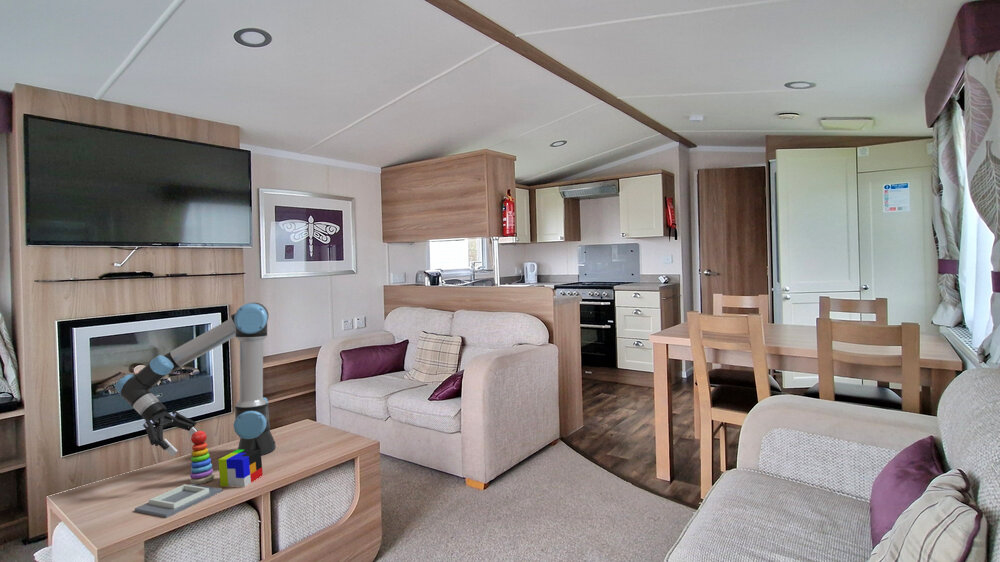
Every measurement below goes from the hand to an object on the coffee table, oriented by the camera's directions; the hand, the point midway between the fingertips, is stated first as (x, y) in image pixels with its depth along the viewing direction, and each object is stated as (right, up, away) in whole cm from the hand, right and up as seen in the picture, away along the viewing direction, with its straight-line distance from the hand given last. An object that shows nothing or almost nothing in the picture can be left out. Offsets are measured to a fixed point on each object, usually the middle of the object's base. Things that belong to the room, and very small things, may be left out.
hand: (189, 447), depth 195 cm
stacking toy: (+5, -13, 0) cm, 14 cm away
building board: (+7, -13, -17) cm, 22 cm away
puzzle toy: (+21, -12, -2) cm, 24 cm away
